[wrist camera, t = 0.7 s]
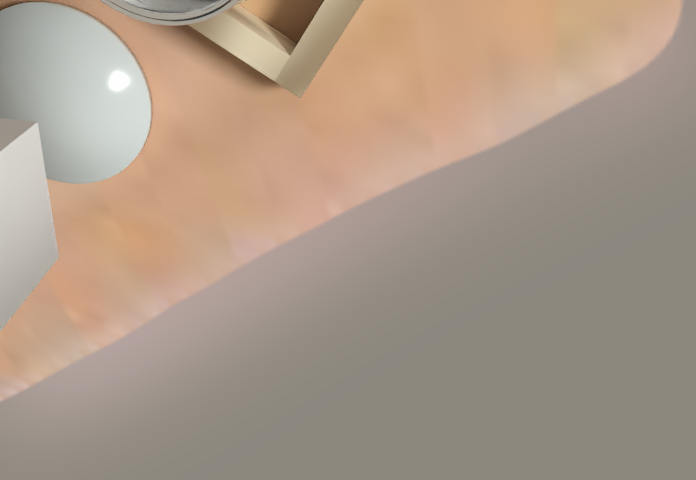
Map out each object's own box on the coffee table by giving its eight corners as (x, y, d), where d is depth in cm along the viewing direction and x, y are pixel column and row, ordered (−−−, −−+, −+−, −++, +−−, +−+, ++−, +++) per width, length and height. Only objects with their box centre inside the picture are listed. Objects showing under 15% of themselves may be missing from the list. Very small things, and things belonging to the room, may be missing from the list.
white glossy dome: (-52, 118, 37) (-58, 121, 37) (4, -41, 33) (-2, -39, 32) (110, 209, 40) (106, 213, 39) (183, 72, 35) (179, 75, 35)
